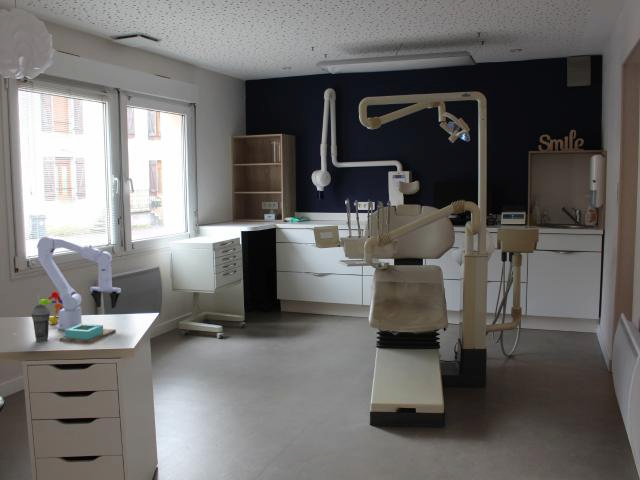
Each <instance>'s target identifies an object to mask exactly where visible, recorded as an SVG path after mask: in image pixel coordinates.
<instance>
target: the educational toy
mask: <svg viewBox="0 0 640 480" xmlns="http://www.w3.org/2000/svg"><path fill="white" fill-rule="evenodd" d="M52 299H54V300H52ZM39 300H40V305H45V306H46V305H47V304H54V308H55V312H54V315H53V316H50V317H49V323H50V324H51V325H57V324H58V322H59V318H58V314H59V311H60V310H61V309H64V307H63V303H62V300H61V298H60V293H59V291H53V292H52V293H51V296H49V297H47V298H46V299H44V298H42V299H39Z"/></svg>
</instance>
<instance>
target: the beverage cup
mask: <svg viewBox="0 0 640 480" xmlns="http://www.w3.org/2000/svg"><path fill="white" fill-rule="evenodd" d="M40 300H41V299H40V294H39V293H38V294H37V301H38V303H37V305H35V306H34V307H33V309H32V311H31V314H30V315H31V318H32V322H33V323H32V324H33V329H34V330H33V331H34V336H35V338H34V339H35V341H36V343H45V342H47V341H49V326H50V325H49V324H50V321H49V317H51V316H50V315H51V312H50V309H49V307H47V306H46V305H40Z"/></svg>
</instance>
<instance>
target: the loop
mask: <svg viewBox="0 0 640 480" xmlns="http://www.w3.org/2000/svg"><path fill="white" fill-rule="evenodd" d="M81 325H87V330H82V327H81ZM103 329H104V325H103V324H89V323H87V324H86V323H82V324H79V325H76V326H74V327H71V328H69V329H66V330H64V332H65V335H64V336H66V338H73V339H86V340H89V339H91V338H93V337H96V336H98V335H100V334H103Z"/></svg>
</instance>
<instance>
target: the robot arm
mask: <svg viewBox="0 0 640 480" xmlns="http://www.w3.org/2000/svg"><path fill="white" fill-rule="evenodd" d="M36 248H37V257H38V258H37V260H38V262H39V263H40V264H41V266H42V268H43V269H44V270H45V272H46V274H47V275H48V277H49V278H50V281H52V283H53V284H54V286H55V288H56V289H57V292H58V293H59V296H60V298H61V300H62V303H63V306H62V308H63V309H61V310H60V309H59V311H58V314H57V317H58V318H59V320H58V327H57V330H64V331H65V330H66V329H69V328H71V327H74V326H76V325H79V324H83V323H82V322H83V321H82V307H81V304H82V301H83V297H82V294H81V295H80V293H78V292H76V290H75V289H74V288H73V287H72V286H71V285H70V284H69V282H68V281H67V279H66V278H65V276H64V275H63V273H62V272H61V270H60V268H59V267H58V265H57V264H56V262H55V261H54V259H53V255H54V252H55V250H56V249H61V248H62V249H67V250H69V251H72V252H76V253H79V254H80V256H81V258H84V259H86V260H88V261H89V260H90V261H92V262H95V263H97V265H98V266H97V267H98V271H97V272H98V275H97V276H98V286H91V287H89V291H90V294H91V296H92V298H93V301H94V302H95V306H96V308H100V307H101V306H102V305H101V304H102V303H101V301H102V300H101V298H102V293H109V297H110V302H111V303H110V305H111V309H115V308H116V306H117V302H118V299H119V297H120V294H121V293H122V288H121V287H114V286H113V277H112V275H113V274H112V272H113V271H112V270H113V269H112V261H113V255H112V254H111V253H110V252H109V251H107V250H103V249H101V248H100V249H99V248H95V247H93V245H90V244H89V245H84V246H82V245H80V244H79V243H75V242H73V241H71V240H69V239H66V238H63V237H61V236H56V235H54V234H49V235H47V236H43V237H41V238H40V239H39V240H38V243H37V245H36Z"/></svg>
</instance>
